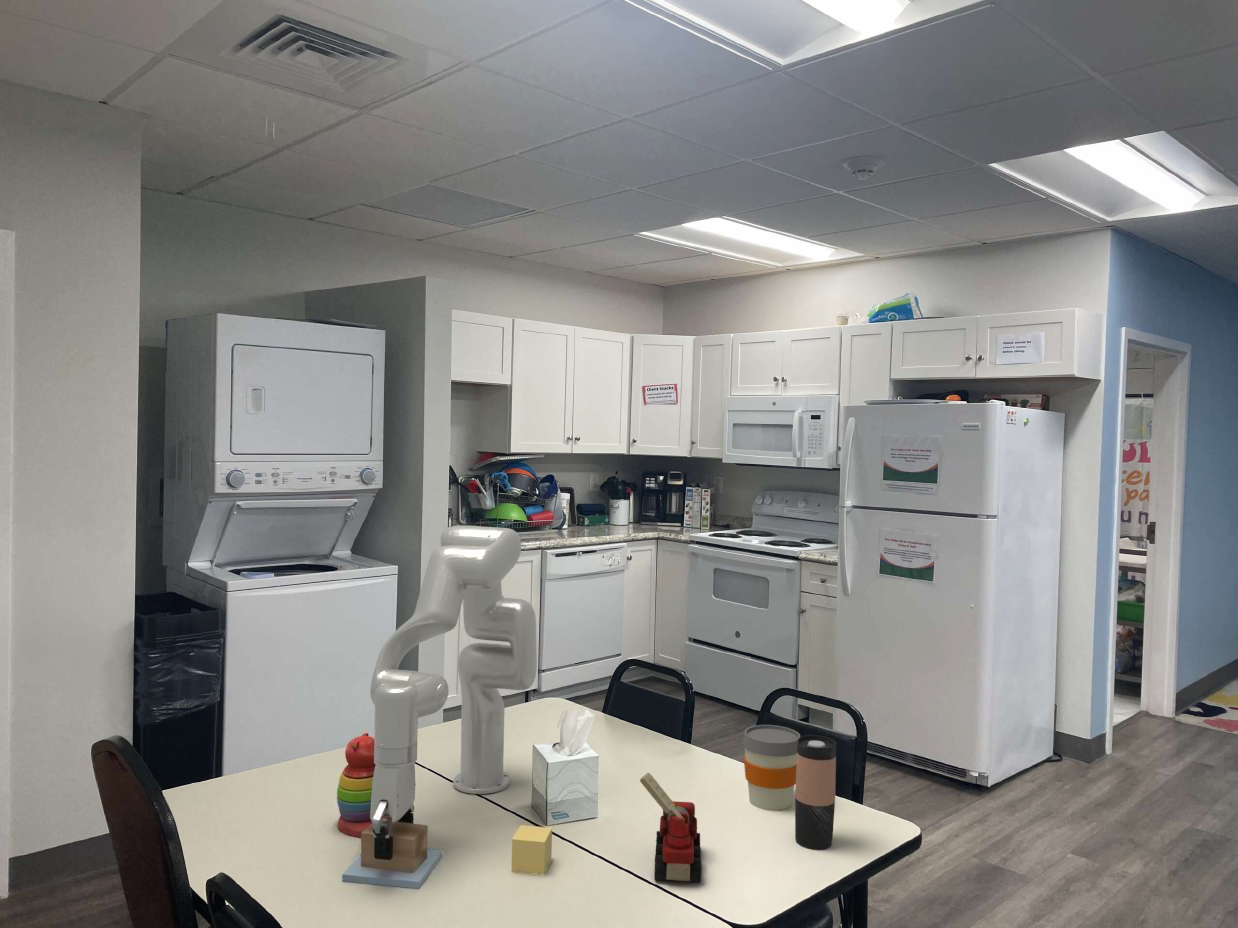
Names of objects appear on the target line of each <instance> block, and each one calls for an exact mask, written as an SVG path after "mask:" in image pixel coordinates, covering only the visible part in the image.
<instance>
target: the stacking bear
mask: <svg viewBox="0 0 1238 928" xmlns="http://www.w3.org/2000/svg"><path fill="white" fill-rule="evenodd" d="M344 753H345V754H344V755H345V759H346V760H345V761H346V763H347V765H346V766H345V767H344V769H343V771H341V773H340V776H339V781H338V786H337V791H336V803H337V807H338V811H339V815H340V816H339V818H338V821H337V828H338V829H339V830H340V832H342V833H343V834H347V835H349V836H352V837H358V838H361V833H362V832H363V831H364V830H365V829H367V828H368V827H369V826H370V825H371V824H372V821H371V818H370V812H371V796H372V784H373V776H374V770H375V766H376V764H375V763H374V737H373V736H370V735H369V732H365V733H363V734H362V735H360V736H357V737H355V738H352V739H351V740H350V741H349V742H348V743H347V745H346V747H345V752H344ZM384 818H388V819H391V817H389V816H384Z"/></svg>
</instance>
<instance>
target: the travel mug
mask: <svg viewBox="0 0 1238 928" xmlns="http://www.w3.org/2000/svg"><path fill="white" fill-rule="evenodd" d="M836 774H837V742H836V741H835V739H833V738H830V737H827V736H824V735H823V736H822V735H818V734H817V735H815V734H807V735H802V736H800V737H799V738H798V742H797V766H796V784H795V792H794V793H795V794H794V797H795V798H794V800H795V802H794V809H795V811H794V814H795V815H794V816H795V817H794V819H795V821H794V828H795V829H794V832H795V833H794V835H795V842H796V844H798V845H799V846H800V847H803V848H806V849H809V850H813V851H817V850H818V851H819V850H822V851H823V850H827V849H829V848H831V847H832V845H833V840H834V839H833V837H834V821H835V808H836V807H835V806H836V781H837V780H836V777H837V776H836Z"/></svg>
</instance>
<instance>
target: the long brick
mask: <svg viewBox="0 0 1238 928" xmlns="http://www.w3.org/2000/svg"><path fill="white" fill-rule="evenodd" d="M382 826H384V827H385V828H386V830H387V828H388V824H385V823H383V825H382ZM428 827H429V825H428V824H427V825H426V824H422V823H421V824H419V823H414V822H413V823H404V822H395V823H394V825H393V829H392V833H391V836H393V858H392V859H391V860H383V859H375V858H374V833H373V825H372V824H371V825H370V826H369V827H368V828H367V829H365V830H364V831H363V832H362V833H361V837H360V855H361V866H362V867H370V868H377V869H385V870H392V871H400V872H407V873H414V872H415V871H416V870H417V868H418V867H419V866H420V865H421V864H422V863H423V862H424V861H425V860H426V859H427V849H428V838H429V835H428V833H429V832H428V831H429V828H428Z"/></svg>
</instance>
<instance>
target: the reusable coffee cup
mask: <svg viewBox="0 0 1238 928" xmlns="http://www.w3.org/2000/svg"><path fill="white" fill-rule="evenodd" d="M799 737H801V734H800V733H799V732H798V731H796V730H795V729H792V728H790V727H786V726H780V725H774V724H773V725H772V724H758V725H752V726H749V727H747V728H745V730H744V734H743V739H742V740H743V741H742V746H743V748H744V756H743V764H744V766H743V767H744V774H745V775H744V776H745V777H744V778H745V779H746V781H747V787H748V797H749V803H750V804H751V805H752V806H753V807H756V808H759V809H761V810H767V811H783V810H786V809H789V808H790V807H791V806H792V803H793V802H792V801H793V793H794V788H795V786H796V766H797V742H798V738H799Z"/></svg>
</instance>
